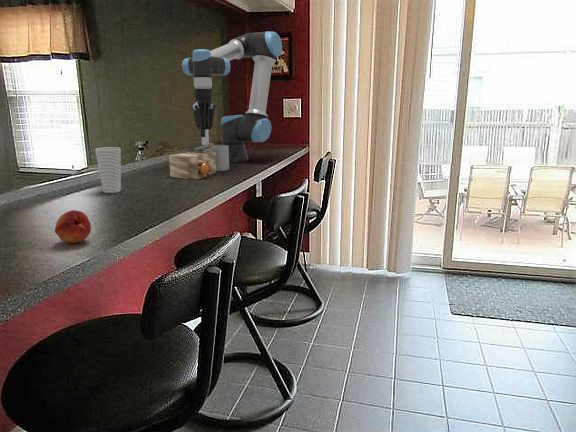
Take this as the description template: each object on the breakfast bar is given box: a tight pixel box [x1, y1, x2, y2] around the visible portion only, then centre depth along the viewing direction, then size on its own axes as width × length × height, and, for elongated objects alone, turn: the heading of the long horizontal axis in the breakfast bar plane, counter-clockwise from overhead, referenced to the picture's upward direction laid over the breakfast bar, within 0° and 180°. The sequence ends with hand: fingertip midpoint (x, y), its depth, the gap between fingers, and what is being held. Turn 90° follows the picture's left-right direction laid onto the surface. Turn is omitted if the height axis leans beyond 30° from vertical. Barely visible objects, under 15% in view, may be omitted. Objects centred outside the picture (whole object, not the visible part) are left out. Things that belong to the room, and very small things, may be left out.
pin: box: [198, 163, 211, 176], centre depth 197 cm, size 5×17×5 cm, turn 57°
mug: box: [203, 144, 230, 172], centre depth 215 cm, size 12×8×11 cm
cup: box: [94, 146, 122, 194], centre depth 167 cm, size 8×8×16 cm
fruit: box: [54, 209, 92, 244], centre depth 111 cm, size 8×8×8 cm
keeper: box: [191, 142, 215, 152], centre depth 204 cm, size 5×11×2 cm, turn 57°
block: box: [168, 148, 217, 180], centre depth 200 cm, size 18×14×11 cm
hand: (205, 144), depth 202 cm, fingers closed
